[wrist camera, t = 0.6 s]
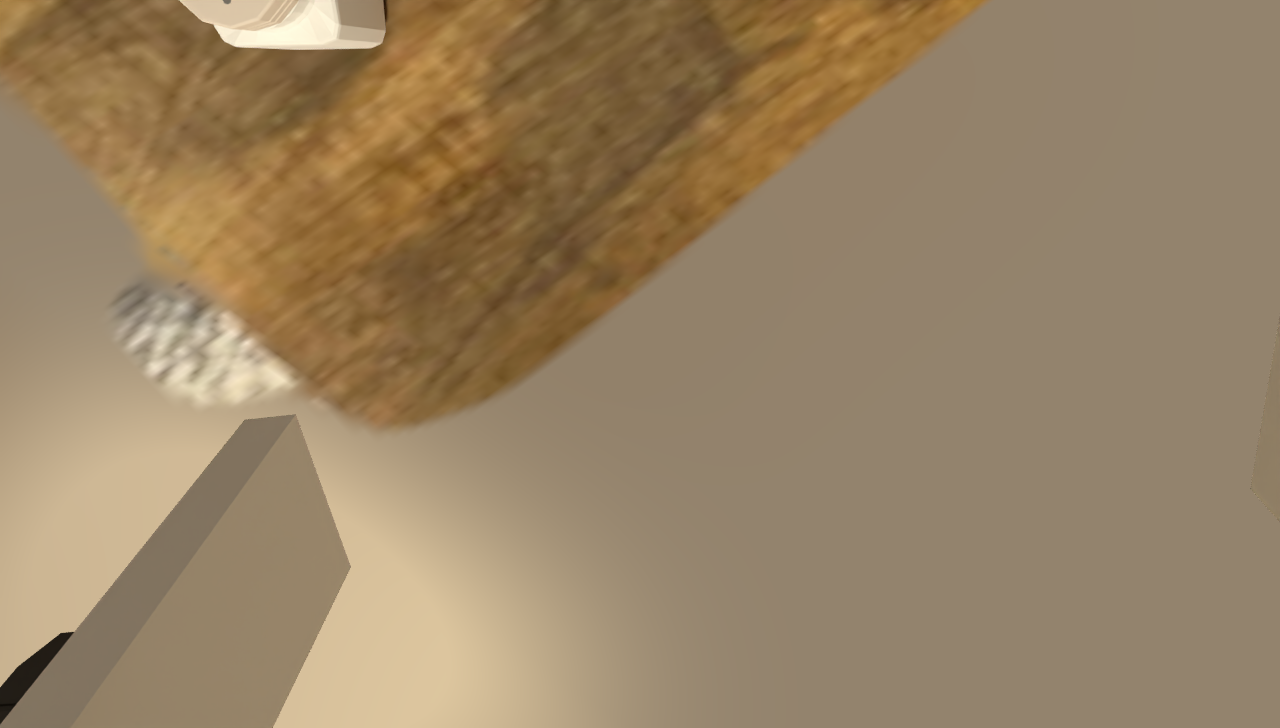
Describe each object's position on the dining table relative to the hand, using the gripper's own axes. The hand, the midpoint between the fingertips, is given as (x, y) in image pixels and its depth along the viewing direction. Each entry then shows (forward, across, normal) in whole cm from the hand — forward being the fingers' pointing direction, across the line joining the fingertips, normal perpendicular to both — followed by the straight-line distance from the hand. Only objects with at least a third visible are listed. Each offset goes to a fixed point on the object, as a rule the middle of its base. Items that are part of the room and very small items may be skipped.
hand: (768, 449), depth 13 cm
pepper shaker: (+26, -14, +5) cm, 30 cm away
